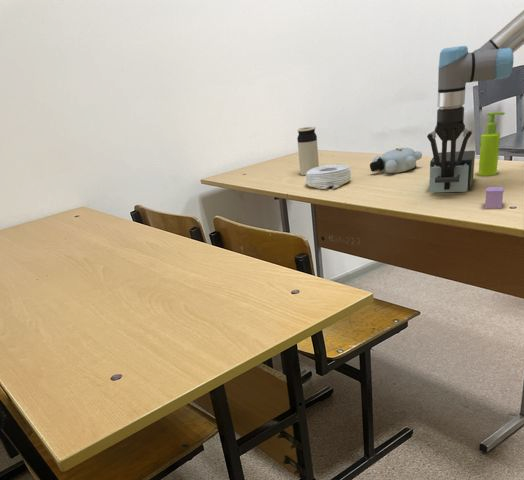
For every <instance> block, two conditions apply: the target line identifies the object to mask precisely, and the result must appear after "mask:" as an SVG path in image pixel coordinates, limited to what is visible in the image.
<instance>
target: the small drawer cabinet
mask: <svg viewBox="0 0 524 480" xmlns="http://www.w3.org/2000/svg"><path fill="white" fill-rule="evenodd" d="M459 153H460V150H459V151H456V154H455V161H457V159H458V156H459ZM438 154H439V159H440V161H441V159H442V151H441V152H438ZM450 156H451V151H447V158H446V163H450ZM475 158H476V150H465V151H464V154H463V158H462V161H461V163H466V162H469V172H468V187H467V192H468V191H471V188H472V185H473V182H474V175H475V174H474V173H475V160H476V159H475ZM434 165H435V161H434V157H432V159H431V160H430V162H429V168H430V167H434ZM428 189H430V187H429V188H428Z"/></svg>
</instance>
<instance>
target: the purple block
mask: <svg viewBox="0 0 524 480" xmlns="http://www.w3.org/2000/svg"><path fill="white" fill-rule="evenodd" d="M504 189H505V187H504V186H487V187H486V191H485V203H484V209H488V210H489V209H502V207H503V198H504Z"/></svg>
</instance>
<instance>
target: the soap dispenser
mask: <svg viewBox="0 0 524 480" xmlns="http://www.w3.org/2000/svg"><path fill="white" fill-rule="evenodd" d="M505 114H506V112H504V111H492V112H487V114H486V116H487V117H488V122H487V123H485V131H484V133H482V134H481V135H480V147H479V163H478V175H479V176H482V177H488V176H489V177H491V176H495V175H497V172H498V162H499V151H500V139H501V138H500V137H501V133H499V132H497V129H498V128H497V126H498V123H497V122H496V121H495V119H496V115H499V116H500V115H501V116H505Z"/></svg>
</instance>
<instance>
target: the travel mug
mask: <svg viewBox="0 0 524 480" xmlns="http://www.w3.org/2000/svg"><path fill="white" fill-rule="evenodd" d="M296 130H297V133H298V135H297V138H296V139H297V150H298V160H299V161H298V162H299V173H300V175H301V176H306V174H307V171H309V170H310V169H313V168H315V167H319V165H320V164H319V149H318V148H319V147H318V136H317V133H316V127H315V126H305V127H299V128H297V129H296Z"/></svg>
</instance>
